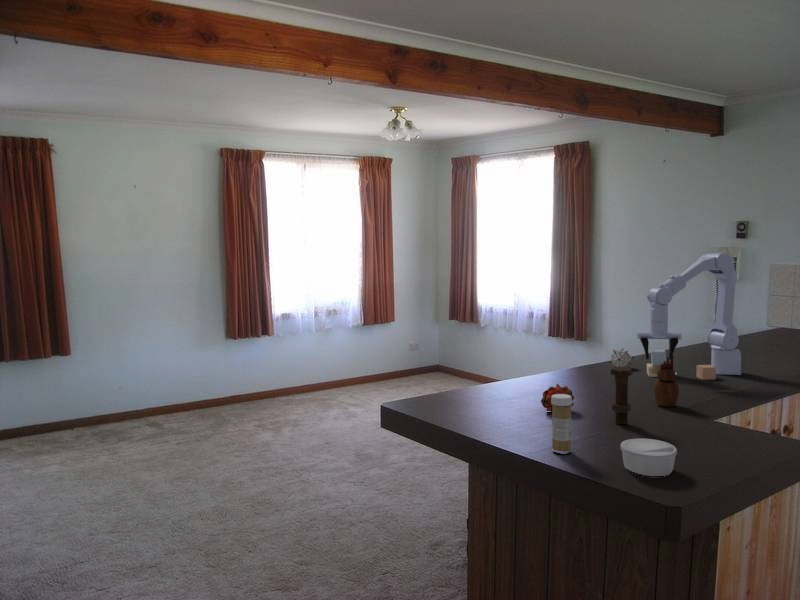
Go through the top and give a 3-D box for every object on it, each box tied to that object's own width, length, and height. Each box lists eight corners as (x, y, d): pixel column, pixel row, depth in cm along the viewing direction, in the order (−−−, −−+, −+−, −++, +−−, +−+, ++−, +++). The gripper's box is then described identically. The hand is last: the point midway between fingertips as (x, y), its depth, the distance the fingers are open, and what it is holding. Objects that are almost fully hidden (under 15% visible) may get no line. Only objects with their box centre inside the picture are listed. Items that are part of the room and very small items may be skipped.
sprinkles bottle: (557, 447, 149) (557, 392, 148) (575, 451, 146) (575, 395, 145) (547, 452, 145) (547, 396, 144) (565, 456, 142) (565, 398, 141)
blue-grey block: (664, 363, 226) (664, 349, 226) (666, 365, 222) (665, 351, 222) (651, 363, 228) (651, 349, 227) (652, 365, 224) (652, 352, 223)
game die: (626, 380, 237) (639, 361, 231) (605, 372, 237) (617, 354, 231) (624, 365, 244) (636, 346, 238) (603, 357, 244) (615, 339, 238)
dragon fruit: (574, 413, 184) (547, 427, 177) (554, 393, 189) (527, 405, 182) (586, 394, 179) (558, 407, 172) (565, 374, 184) (537, 386, 177)
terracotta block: (709, 378, 220) (709, 364, 219) (715, 381, 215) (715, 367, 215) (696, 379, 220) (696, 365, 219) (702, 381, 215) (702, 367, 215)
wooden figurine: (677, 404, 186) (678, 354, 185) (679, 408, 181) (680, 357, 180) (653, 402, 189) (653, 353, 187) (654, 407, 183) (654, 356, 182)
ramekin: (665, 484, 125) (666, 458, 125) (611, 471, 133) (611, 447, 132) (684, 468, 133) (684, 444, 133) (632, 457, 141) (632, 435, 140)
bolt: (628, 427, 164) (629, 371, 162) (609, 425, 166) (609, 369, 165) (633, 422, 169) (633, 367, 167) (614, 419, 171) (614, 365, 170)
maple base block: (667, 372, 227) (667, 363, 226) (670, 376, 220) (669, 366, 220) (646, 373, 228) (646, 363, 228) (649, 376, 222) (648, 367, 222)
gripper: (638, 322, 221) (638, 360, 222) (683, 322, 217) (682, 361, 218) (636, 320, 227) (636, 357, 229) (679, 320, 224) (679, 358, 225)
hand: (658, 359), depth 224 cm, fingers open, 7 cm apart
